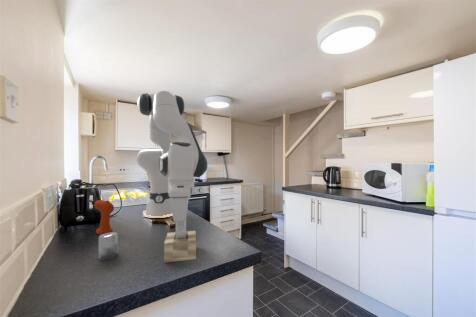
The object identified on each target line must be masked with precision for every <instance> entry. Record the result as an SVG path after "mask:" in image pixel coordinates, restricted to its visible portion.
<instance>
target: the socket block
mask: <svg viewBox="0 0 476 317" xmlns="http://www.w3.org/2000/svg"><path fill="white" fill-rule="evenodd" d="M192 260H197V234H196V230H186V239H176V231H172V232H167V234H166V236H165V240H164V243H163V262H164V264H165V263H171V262H172V263H173V262H182V261H192Z"/></svg>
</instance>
